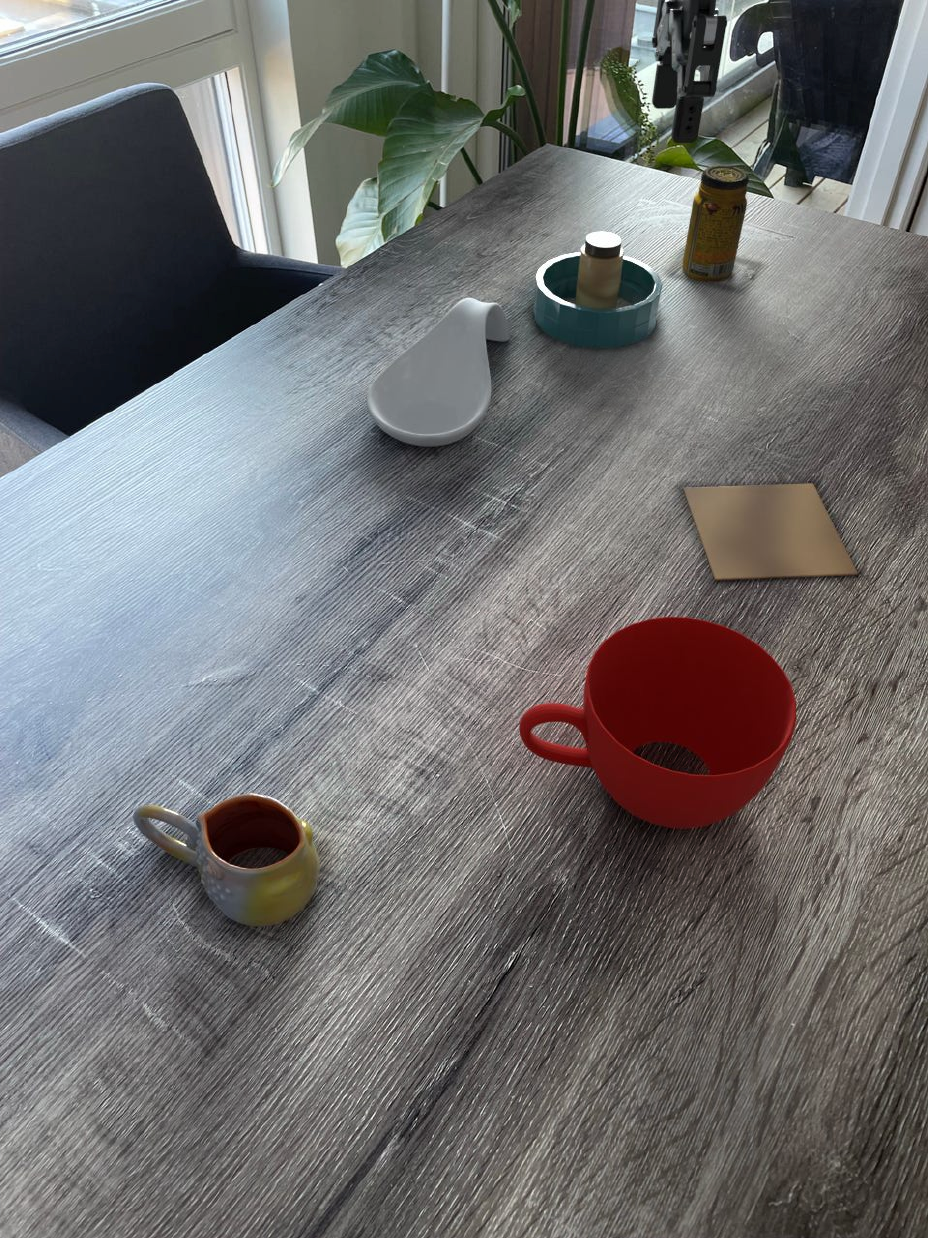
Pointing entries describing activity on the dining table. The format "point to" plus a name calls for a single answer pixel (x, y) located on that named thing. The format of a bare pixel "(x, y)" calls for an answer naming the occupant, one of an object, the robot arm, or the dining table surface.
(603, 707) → the ceramic cup
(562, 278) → the pot
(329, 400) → the dining table surface
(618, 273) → the pepper mill
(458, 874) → the dining table surface
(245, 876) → the mug
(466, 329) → the spoon rest
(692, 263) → the condiment
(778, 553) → the plate
